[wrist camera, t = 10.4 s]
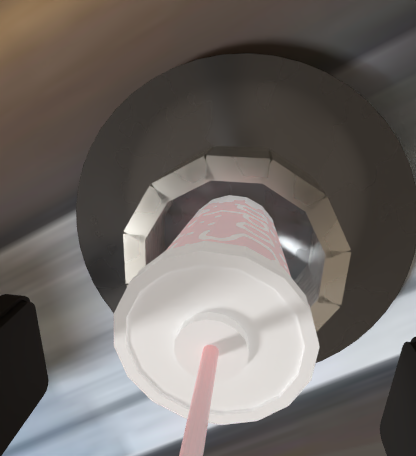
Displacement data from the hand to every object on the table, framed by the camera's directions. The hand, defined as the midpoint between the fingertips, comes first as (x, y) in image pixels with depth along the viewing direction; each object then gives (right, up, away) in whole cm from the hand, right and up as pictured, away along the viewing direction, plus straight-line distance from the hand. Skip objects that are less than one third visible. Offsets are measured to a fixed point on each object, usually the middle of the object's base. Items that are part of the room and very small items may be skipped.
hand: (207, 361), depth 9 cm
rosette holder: (+2, +3, +11) cm, 11 cm away
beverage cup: (+1, +3, +10) cm, 10 cm away
